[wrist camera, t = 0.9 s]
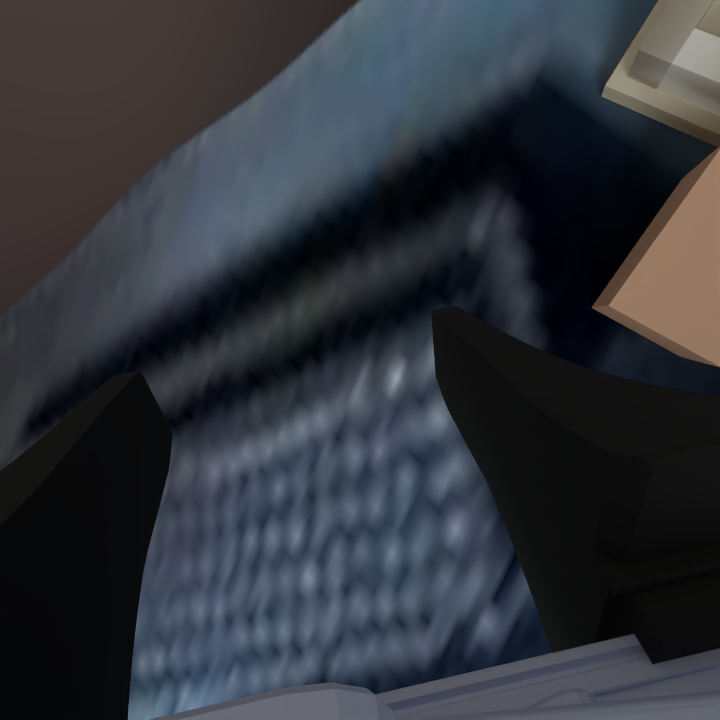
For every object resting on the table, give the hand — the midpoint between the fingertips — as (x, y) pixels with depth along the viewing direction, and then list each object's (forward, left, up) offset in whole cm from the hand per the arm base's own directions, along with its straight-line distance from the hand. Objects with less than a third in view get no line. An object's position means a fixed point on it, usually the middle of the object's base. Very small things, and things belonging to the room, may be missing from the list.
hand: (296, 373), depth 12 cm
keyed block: (-8, -9, -12) cm, 17 cm away
